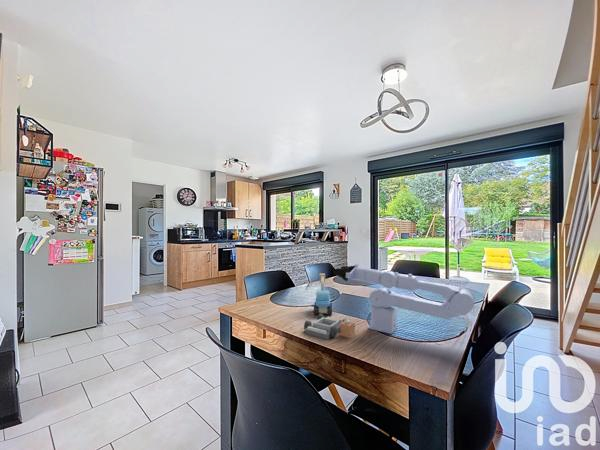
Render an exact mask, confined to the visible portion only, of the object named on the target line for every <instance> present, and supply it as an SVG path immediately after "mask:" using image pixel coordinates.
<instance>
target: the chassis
mask: <svg viewBox="0 0 600 450" xmlns="http://www.w3.org/2000/svg"><path fill="white" fill-rule="evenodd" d="M345 320H347V319H345V318H343V319H341V318H337V317H333V316H330V315H327V316H326V317H325V315H324V313H318V315H317V319H316V320H315V321H313V322H311V320H305V322H304V324H303V329H304V334H306V333H307V334H306V335H311V336H314V337H317V338H321V339H325V340H329V339H331V338H334V339H335V338H336V336H337V334H338V333H339V332H340V323H342V322H343V321H345ZM312 323H313V324H312Z"/></svg>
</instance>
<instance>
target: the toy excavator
mask: <svg viewBox="0 0 600 450" xmlns="http://www.w3.org/2000/svg"><path fill="white" fill-rule="evenodd" d="M318 275H319V276H318V277H319V280H318V282H319V283H320V289H321V290H317V291H316V295H315V302H314V305H313V315H314V316H315V315H316V316H318V315H319V314H327V316H332V315H333V303H332V302H331V297H330V291H329V290H325V283H326V273H319V274H318Z"/></svg>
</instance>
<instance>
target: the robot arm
mask: <svg viewBox="0 0 600 450" xmlns="http://www.w3.org/2000/svg"><path fill="white" fill-rule="evenodd" d="M332 271H333V272H332V273H333V275H335V276H337V277H339V278H341V279H342V280H344V281H345V282H347V281H348V279H350V280H352V281H359V282H364V283H368V284H373V285H381V286H380V287H378V288H377V289H376V290H374V291H372V292H371V293H369V296H368V299H369V300H368V301H369V302H370V308H371V309H370V313H371V314H370V317H371V318H370V319H371V320H370V324H369V325H368V326H367V329H368V330H373V331H378V332H383V333H386V334H391V335H392V334H393V333H394V332H395V331H396V329H397V328H398V327H397V309H396V308H398V309H403V310H407V311H411V312H414V313H419V314H424V315H426V316H427V315H429V316H432V317H437V318H441V319H444V320H449V319H452V318H457V317H461V316H467V314H469V313H470V312H472V310H473V309H474V308H475V295H474V293H473V292H472V291H471V290H469V289H468V288H463V287H461V288H460V287H458V286H457V285H450V284H445V283H438V282H430V281H425V280H419V278H417V276H415V275H413V274H412V273H408V274H402V273H399V272H398V271H395V272H394V271H393V270H388V271H383V270H379V269H373V268H366V267H361V266H359V264H358V263H355V265H350V266H349V265H348V266H345V265H344V266H341V267H340V268H333V269H332ZM392 288H396V289H397V290H403V291H408V292H416V291H417V290H419V291H423V292H424V291H425V292H428V293H432V294H435V295H441V296H442V298H444V299H445V301H444V302H438V301H433V300H429V299H428V300H427V299H424V298H420V297H415V296H414V297H413V296H409V295H404V294H401V293H398V292H395V291H393V290H390V289H392ZM394 307H395V308H394Z"/></svg>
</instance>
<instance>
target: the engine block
mask: <svg viewBox="0 0 600 450" xmlns="http://www.w3.org/2000/svg"><path fill="white" fill-rule="evenodd" d="M342 321H343V320H342ZM355 326H356V323H355V322H353V321H351V320H350V319H346V320H345V321H343V322H342V323H340V331H339V332H340V333H339V334H340V335H339V336H341V337H345V338H348V339H350V338H352V337H354V336H355V332H356V331H355V328H356V327H355Z"/></svg>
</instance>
